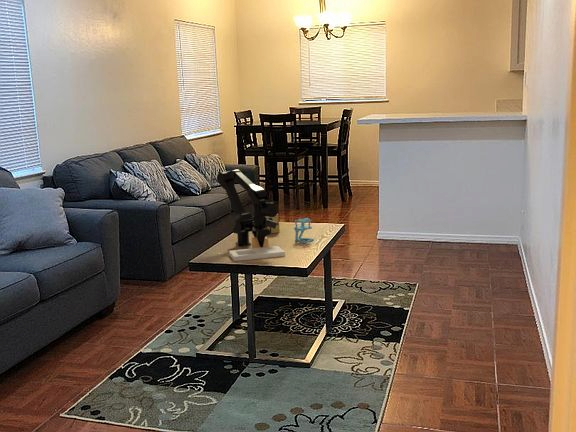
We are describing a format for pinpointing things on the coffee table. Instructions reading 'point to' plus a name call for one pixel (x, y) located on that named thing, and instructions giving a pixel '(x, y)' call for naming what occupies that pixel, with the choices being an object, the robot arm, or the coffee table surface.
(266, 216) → the puzzle cube
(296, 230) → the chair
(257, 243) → the beige block
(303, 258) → the coffee table surface
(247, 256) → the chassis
